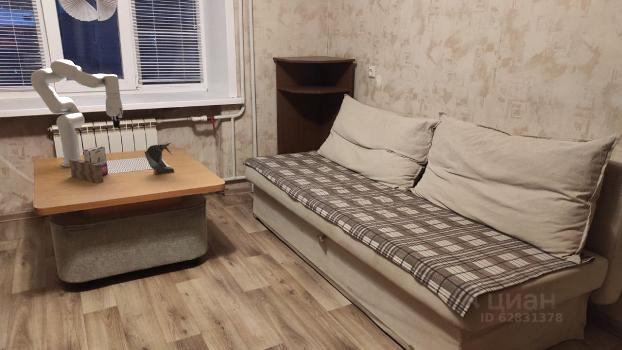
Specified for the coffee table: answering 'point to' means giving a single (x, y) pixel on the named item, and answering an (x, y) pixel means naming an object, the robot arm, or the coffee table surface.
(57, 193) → the coffee table surface
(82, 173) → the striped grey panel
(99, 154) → the candy bar box
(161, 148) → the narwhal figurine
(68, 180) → the coffee table surface
